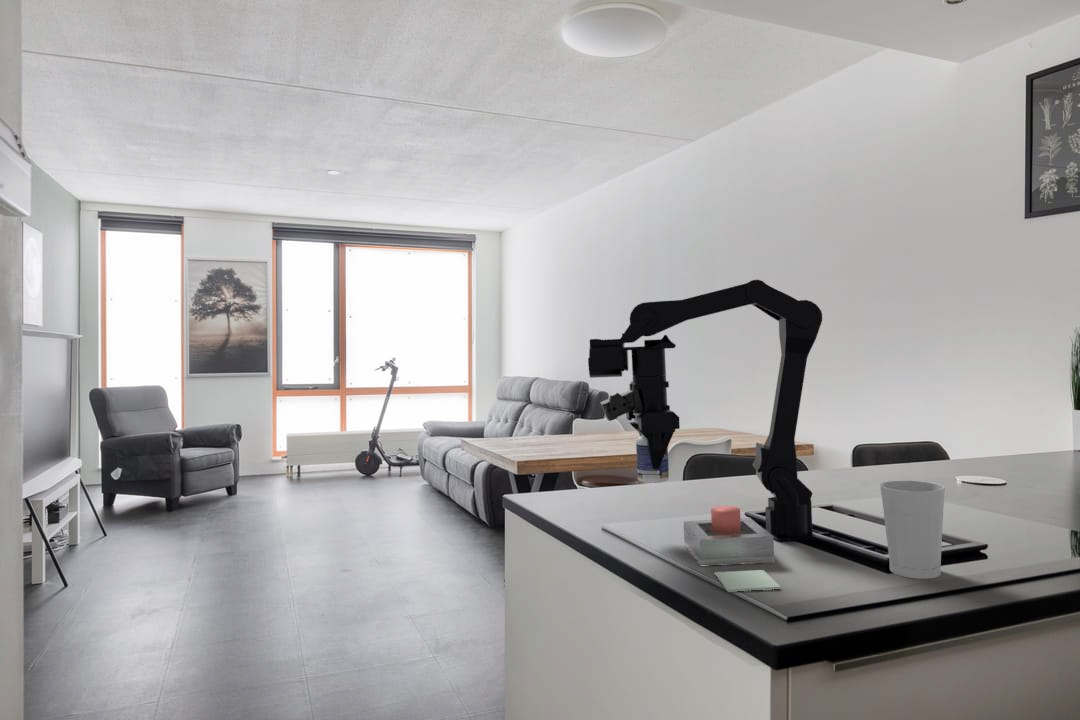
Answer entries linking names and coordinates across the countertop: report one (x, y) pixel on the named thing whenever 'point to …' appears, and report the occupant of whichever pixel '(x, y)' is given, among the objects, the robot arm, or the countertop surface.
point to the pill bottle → (650, 464)
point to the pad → (746, 580)
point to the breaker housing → (728, 543)
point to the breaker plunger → (725, 520)
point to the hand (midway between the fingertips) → (653, 465)
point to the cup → (913, 527)
